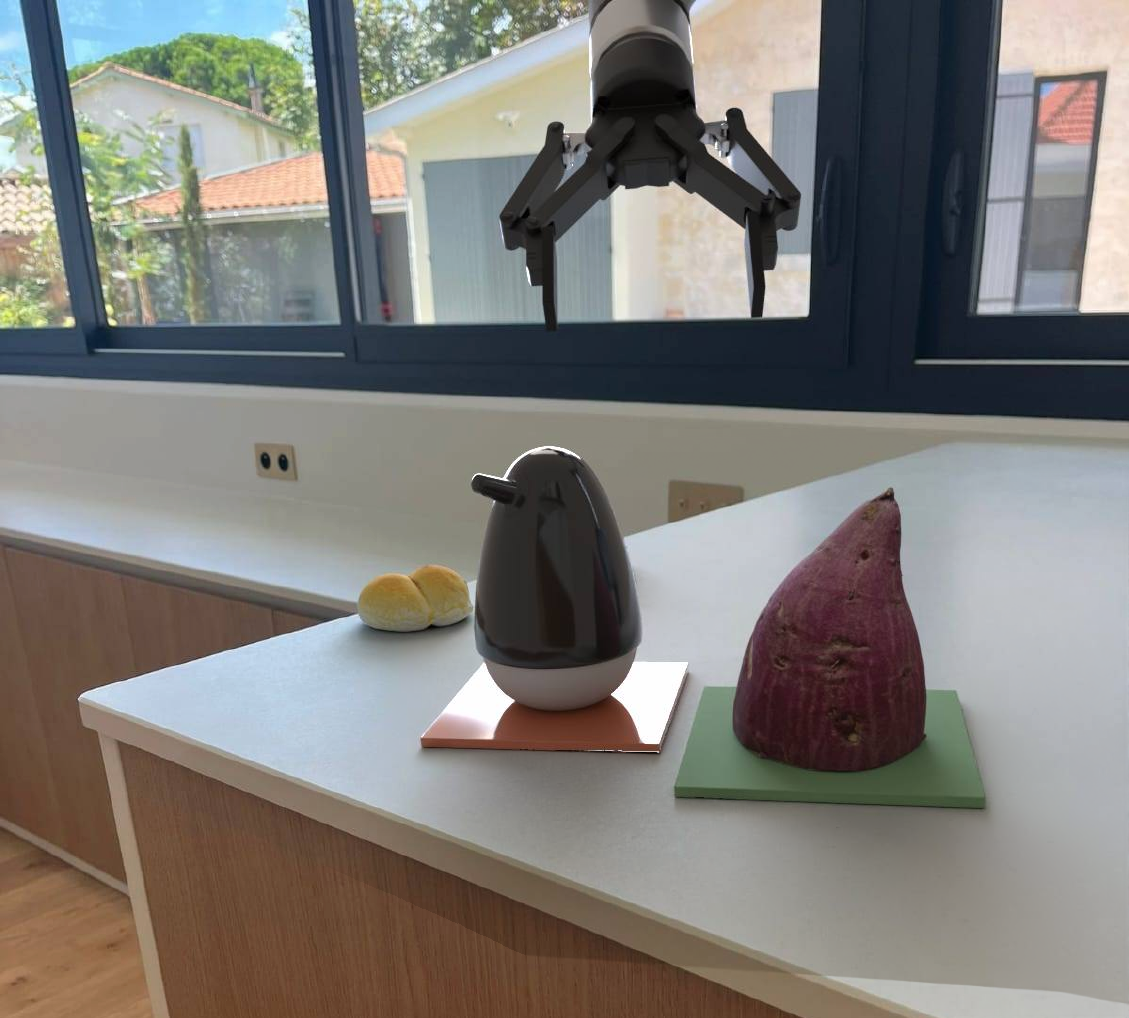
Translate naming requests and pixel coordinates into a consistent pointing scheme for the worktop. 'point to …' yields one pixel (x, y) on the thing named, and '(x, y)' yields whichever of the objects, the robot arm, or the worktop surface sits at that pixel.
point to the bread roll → (415, 600)
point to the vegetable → (837, 655)
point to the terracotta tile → (563, 716)
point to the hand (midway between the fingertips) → (653, 310)
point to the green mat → (914, 779)
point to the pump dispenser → (554, 585)
